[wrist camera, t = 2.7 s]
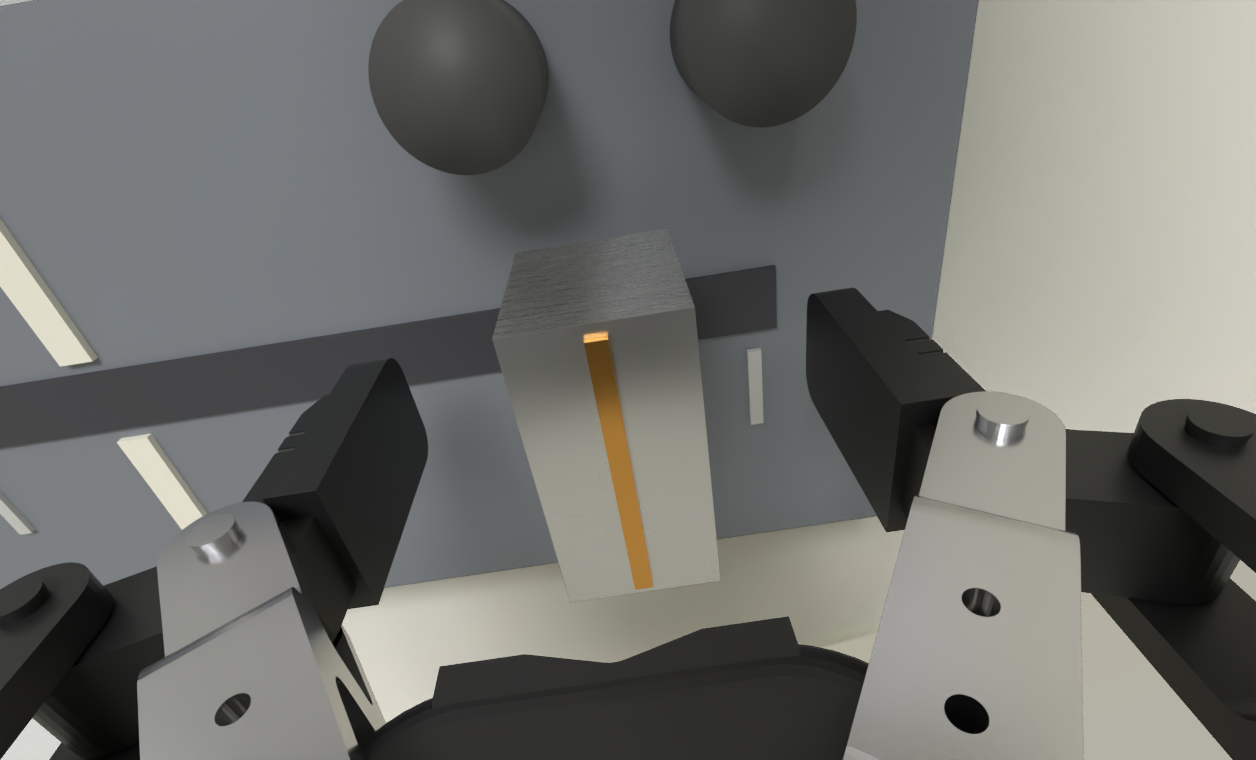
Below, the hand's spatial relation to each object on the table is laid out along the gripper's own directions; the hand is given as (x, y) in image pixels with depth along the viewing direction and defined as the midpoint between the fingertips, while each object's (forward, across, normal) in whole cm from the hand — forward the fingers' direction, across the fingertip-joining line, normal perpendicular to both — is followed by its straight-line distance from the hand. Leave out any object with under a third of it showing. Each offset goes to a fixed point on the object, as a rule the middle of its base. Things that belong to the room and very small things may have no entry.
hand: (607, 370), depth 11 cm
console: (+5, +6, 0) cm, 7 cm away
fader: (+2, 0, 0) cm, 2 cm away
